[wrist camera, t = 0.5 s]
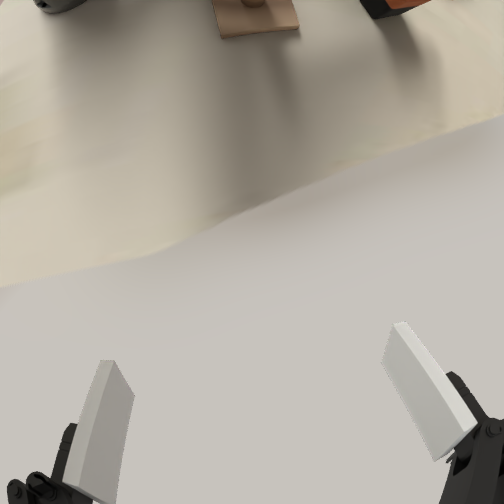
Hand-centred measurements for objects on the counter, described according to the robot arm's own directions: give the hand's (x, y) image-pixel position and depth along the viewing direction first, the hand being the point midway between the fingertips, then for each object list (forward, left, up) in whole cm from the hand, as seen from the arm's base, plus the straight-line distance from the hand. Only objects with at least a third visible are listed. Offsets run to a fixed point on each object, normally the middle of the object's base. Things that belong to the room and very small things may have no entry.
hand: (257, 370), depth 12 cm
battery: (-28, +28, -28) cm, 49 cm away
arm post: (-28, +8, -28) cm, 40 cm away
